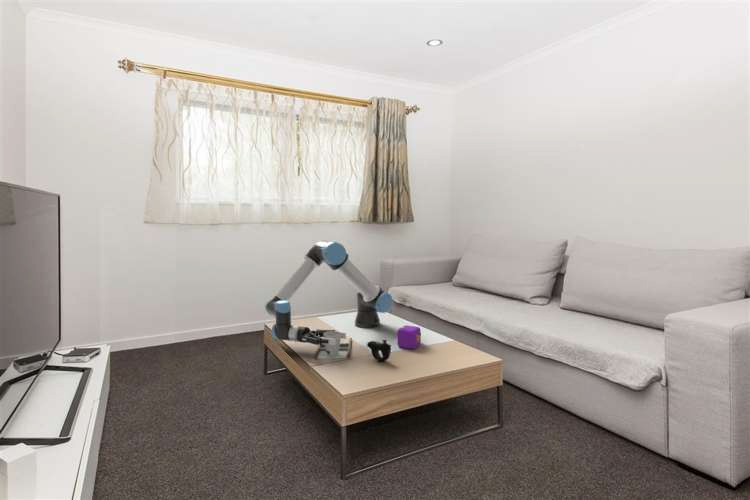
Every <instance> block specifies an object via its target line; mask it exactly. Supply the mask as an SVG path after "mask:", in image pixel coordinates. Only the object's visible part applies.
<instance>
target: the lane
mask: <svg viewBox="0 0 750 500" xmlns="http://www.w3.org/2000/svg"><path fill="white" fill-rule="evenodd" d="M352 339H353V338H352V337H349V340H348V343H349V345H348V351H347V358H346V359H350V355H351V349H352V342H353V341H352ZM322 344H323V343H322ZM320 348H321V346H320V344H319V345H317V349H316V351H315V354H314V355H313V356H314V360H318V359H317V357H318V354H319V351H320Z"/></svg>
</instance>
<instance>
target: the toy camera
mask: <svg viewBox="0 0 750 500" xmlns="http://www.w3.org/2000/svg"><path fill="white" fill-rule="evenodd" d="M421 332H422V331H421V328H420V326H415V325H404V326H401V327H400V328H398V329H397V333H396V334H397V337H396V338H397V339H396V340H397V346H398V347H399V348H403V349H410V350H414V349H416V348H417V347H418V346H420V345H421V338H422V333H421Z"/></svg>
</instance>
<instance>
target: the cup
mask: <svg viewBox="0 0 750 500" xmlns="http://www.w3.org/2000/svg"><path fill="white" fill-rule="evenodd" d="M340 332H341V331H337V330H335V331H329V332H325V333H324V337H323V338H332V339H336V345H330V344H325V349H326V352H327V355H329V356H335V355H338V352H339V348H340V343H341V339H342V338H341V333H340Z"/></svg>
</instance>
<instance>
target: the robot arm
mask: <svg viewBox="0 0 750 500" xmlns="http://www.w3.org/2000/svg"><path fill="white" fill-rule="evenodd" d="M346 250H347V249H346V248H345V246H344V245H343V244H342V243H339V242H338V241H330V240H329V241H327V240H320V241H317V242H316V243H315V244H314V245H313V246H311V248H310V249H309V250H308V251H307V253H306V254H305V255H304V257H303V258H304V259H303V260H302V262H301V263H300V265H298V267H297V268H295V269H296V270H294V272H293V273H292V275H290V277H289V278H288V279H287V280H286V282H285V283H284V284H283V286H282V287H281V288H280V289H279V291H278V292H277V293H276V295H275V296H273V298H272V299H269V300H268V301H267V302H265V305H264V309H265V311H266V312H267V313H268V314H269V315H271V316H273V317H274V318H275V324H273V325H272V326H271V330H270V336H271V337H272V338H273V339H275V340H279V341H288V342H294V343H303V344H305V343H309V344H312V345H315V346H319V344H320V346H321V345H322V343H323V344H330V345H336V339H332V338H324V333H325V332H329V331H336V330H335V329H318V328H316V330H311V329H310V327H307V326H300V325H292V311H291V310H292V306H291V302H290V300H292V298H293V297H294V295H295V294H296V293H297V291H299V289H300V288H301V287H302V286H303V284H304V283H305V282H306V280H307V279H308V278H309V277H310V276H311V274H312V273H313V272H314V271H315V269H317V268H319V267H320V266H321V265H322V264H323V263H325V264H326V265H327V266H328V267H329V268H330V269H331V270H332V271H338V273H339V274H340V275H341V276H342V277H343V278H345V280H346V281H347V282H349V284H350V285H352V286H353V288H354V289H356V302H357V303H356V305H357V307H356V308H357V311H356V316H355V319H354V326H356V327H359V328H365V329H367V328H376V327H378V326H380V325H381V319H380V316H379V313H382V314H385V313H387V312H389V311H390V310H391V309H392V306H393V301H394V300H393V296H392V295H391V294H390V293H389V292H387V291H385V290H383V289H382V288H381V287H380V285H377V284H376V285H375V284H373V282H371V280H370V279H369V278H367V276H366V275H365V274H364V273H362V271H361V270H360V269H359V268H358V267H357V266H356V265H355V264H354V263H353V262H352V261H351V260H350V258H349V257H350V256H349V254H348V253H347V251H346ZM339 332H340V333H341V339H343V340H344V339H347V333H346V332H341V331H339Z"/></svg>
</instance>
